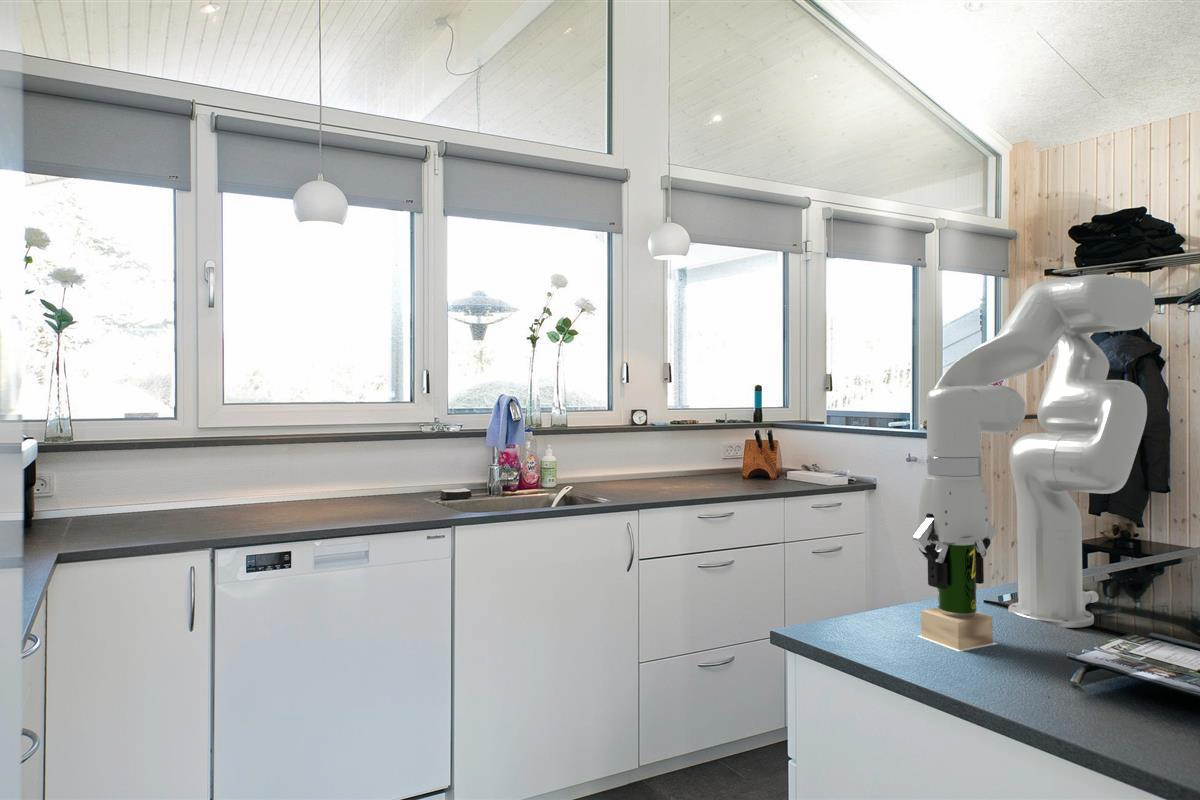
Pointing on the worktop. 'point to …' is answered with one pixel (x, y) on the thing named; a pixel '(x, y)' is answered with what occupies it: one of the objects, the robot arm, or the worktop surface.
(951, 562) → the beer can
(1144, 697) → the worktop surface
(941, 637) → the oak block
